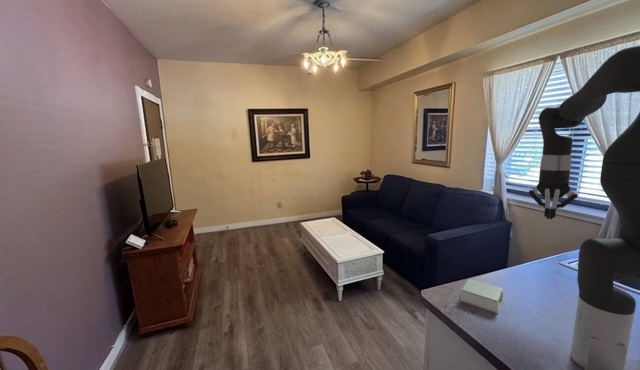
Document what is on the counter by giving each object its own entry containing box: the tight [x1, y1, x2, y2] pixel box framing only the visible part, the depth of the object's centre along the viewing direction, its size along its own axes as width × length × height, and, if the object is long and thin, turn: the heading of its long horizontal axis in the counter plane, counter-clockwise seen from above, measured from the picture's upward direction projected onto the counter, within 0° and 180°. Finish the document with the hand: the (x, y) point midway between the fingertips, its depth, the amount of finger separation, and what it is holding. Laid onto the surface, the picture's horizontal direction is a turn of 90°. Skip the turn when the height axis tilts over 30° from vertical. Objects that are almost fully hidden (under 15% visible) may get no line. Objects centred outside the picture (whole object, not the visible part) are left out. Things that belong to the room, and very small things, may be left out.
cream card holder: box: [460, 290, 504, 315], centre depth 92 cm, size 11×9×4 cm
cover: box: [461, 278, 504, 303], centre depth 92 cm, size 11×9×1 cm
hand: (549, 218), depth 90 cm, fingers closed
